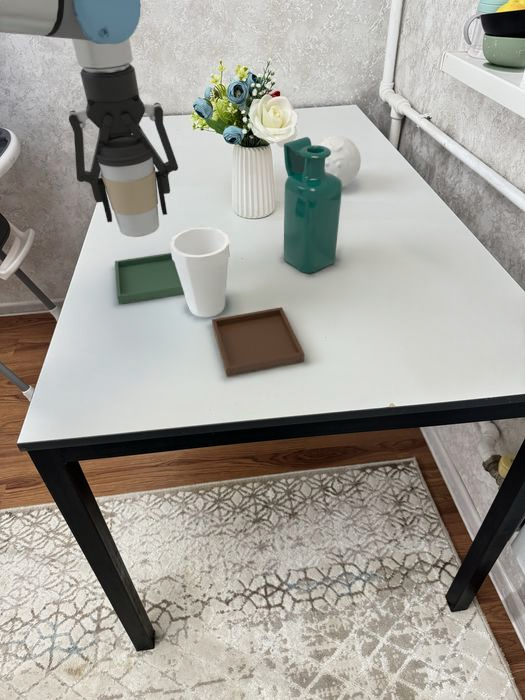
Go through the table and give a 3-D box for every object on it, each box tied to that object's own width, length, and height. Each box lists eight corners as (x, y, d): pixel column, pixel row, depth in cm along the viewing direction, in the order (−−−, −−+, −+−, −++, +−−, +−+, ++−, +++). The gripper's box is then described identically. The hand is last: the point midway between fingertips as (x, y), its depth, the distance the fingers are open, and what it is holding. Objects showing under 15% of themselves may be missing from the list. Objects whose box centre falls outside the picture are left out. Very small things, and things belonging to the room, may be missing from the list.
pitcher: (339, 262, 97) (351, 149, 82) (307, 277, 93) (313, 161, 78) (306, 242, 103) (312, 133, 88) (275, 255, 99) (275, 144, 84)
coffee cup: (176, 222, 87) (163, 135, 76) (141, 245, 81) (122, 154, 71) (138, 210, 90) (121, 125, 80) (102, 231, 85) (78, 142, 74)
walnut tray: (227, 376, 74) (226, 368, 73) (212, 327, 83) (211, 319, 81) (303, 361, 76) (304, 353, 75) (281, 314, 85) (281, 307, 84)
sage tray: (119, 304, 88) (117, 296, 87) (116, 268, 96) (114, 260, 95) (186, 293, 90) (185, 285, 89) (178, 259, 99) (177, 251, 97)
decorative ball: (305, 194, 119) (308, 144, 111) (313, 175, 128) (316, 127, 120) (355, 199, 117) (361, 148, 109) (359, 178, 126) (365, 130, 117)
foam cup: (238, 293, 90) (234, 229, 81) (228, 325, 83) (222, 259, 74) (187, 289, 91) (178, 225, 82) (173, 320, 84) (162, 254, 75)
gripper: (178, 54, 73) (195, 197, 89) (29, 65, 69) (73, 213, 85) (185, 66, 68) (202, 216, 83) (24, 79, 64) (72, 234, 79)
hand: (137, 214), depth 84 cm, fingers closed on coffee cup, 8 cm apart
